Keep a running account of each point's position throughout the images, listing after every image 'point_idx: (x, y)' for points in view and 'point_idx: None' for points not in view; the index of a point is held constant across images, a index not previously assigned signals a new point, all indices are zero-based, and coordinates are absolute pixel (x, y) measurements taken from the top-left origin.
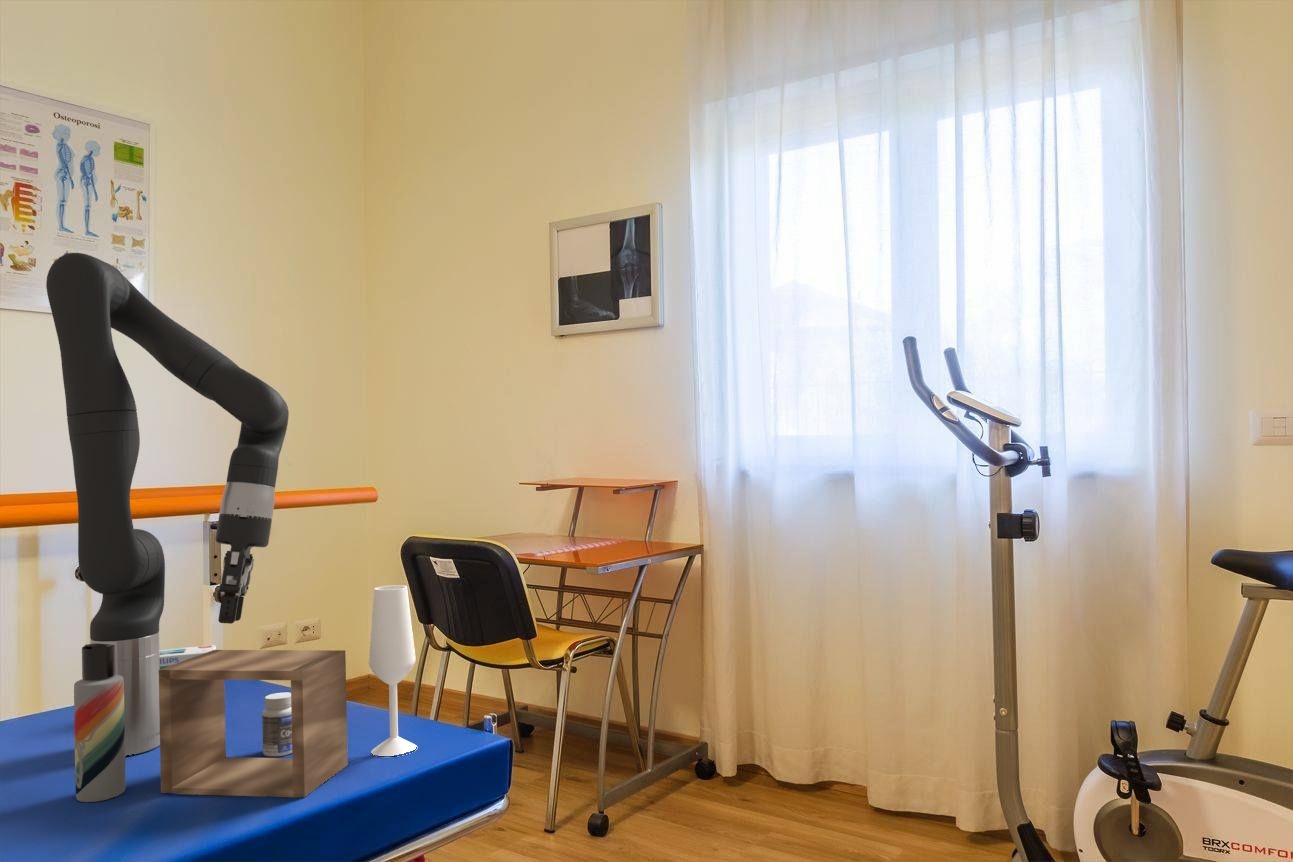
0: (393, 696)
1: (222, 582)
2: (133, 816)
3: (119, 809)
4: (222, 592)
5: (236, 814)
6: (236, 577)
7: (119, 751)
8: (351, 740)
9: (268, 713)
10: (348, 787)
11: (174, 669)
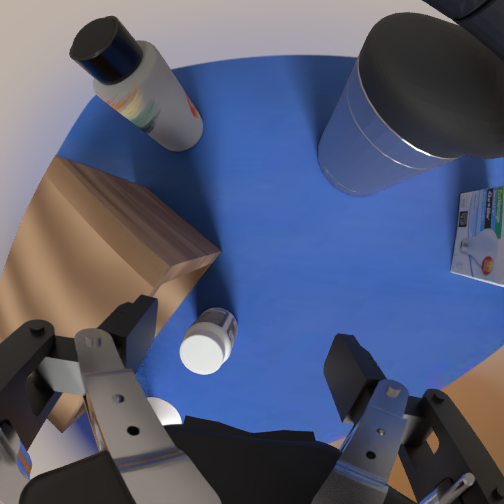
0: None
1: (10, 337)
2: (103, 166)
3: (127, 152)
4: (77, 335)
5: None
6: (95, 434)
7: (146, 133)
8: (216, 399)
9: (190, 329)
10: None
11: (44, 181)
